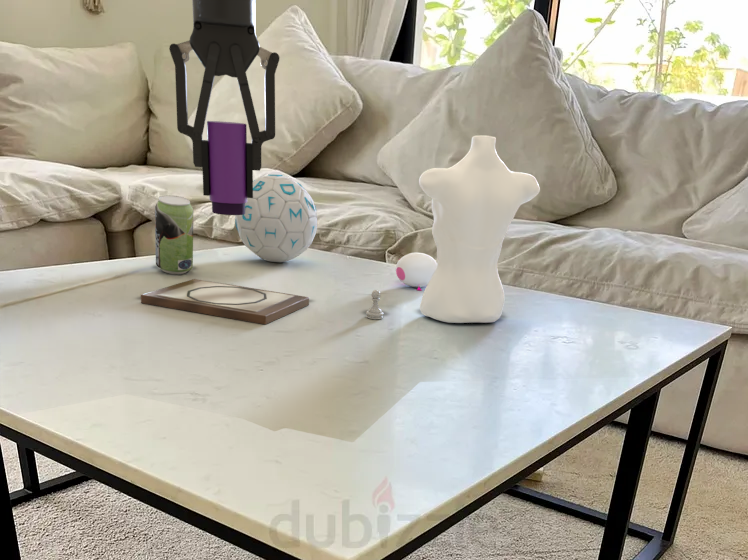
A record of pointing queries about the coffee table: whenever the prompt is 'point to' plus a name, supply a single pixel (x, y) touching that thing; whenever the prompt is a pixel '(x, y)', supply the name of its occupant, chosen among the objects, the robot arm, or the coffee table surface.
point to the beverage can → (174, 234)
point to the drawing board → (226, 300)
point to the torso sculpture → (471, 232)
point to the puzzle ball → (277, 219)
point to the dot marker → (227, 167)
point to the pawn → (375, 307)
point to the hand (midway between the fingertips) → (228, 195)
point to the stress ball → (416, 269)
